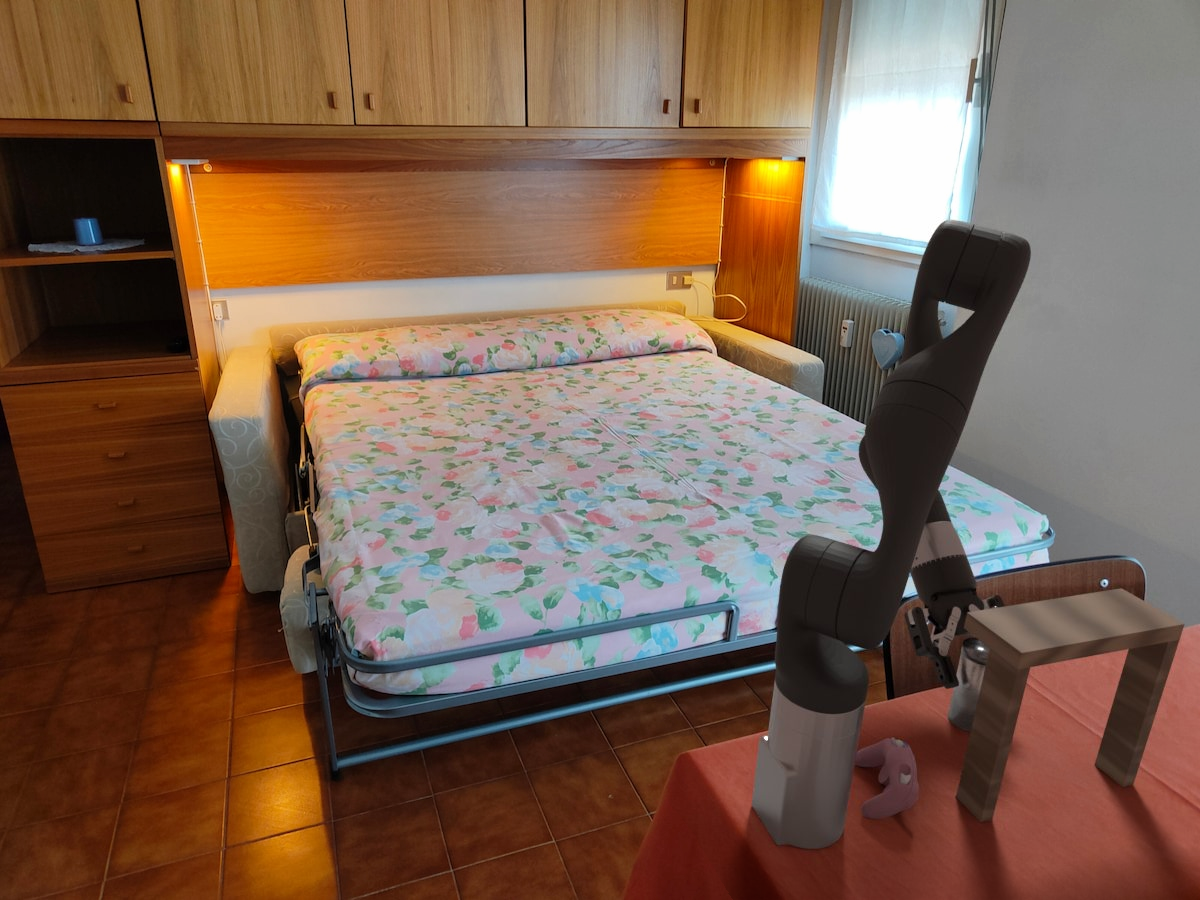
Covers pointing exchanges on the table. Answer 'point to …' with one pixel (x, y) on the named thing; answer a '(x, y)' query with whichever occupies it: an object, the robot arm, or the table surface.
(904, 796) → the video game controller
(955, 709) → the salt shaker
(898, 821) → the table surface
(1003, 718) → the walnut shelf
